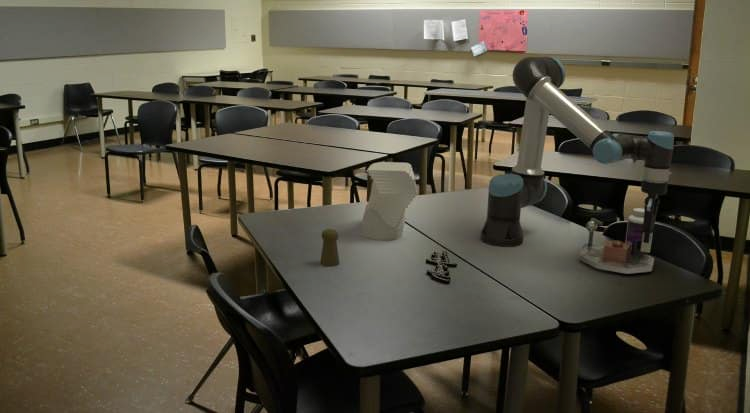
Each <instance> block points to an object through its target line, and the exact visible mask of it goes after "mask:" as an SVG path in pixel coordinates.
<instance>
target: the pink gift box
mask: <svg viewBox="0 0 750 413" xmlns="http://www.w3.org/2000/svg"><path fill="white" fill-rule="evenodd" d="M630 250H631V244H626V243H625V242H623V241H621V240H608V241H607V242H606V243H605V244H604V250H603V258H608V259H613V260H618V261H623V262H626V260H627V259H628V258H629V256H630Z"/></svg>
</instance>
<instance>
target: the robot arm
mask: <svg viewBox="0 0 750 413" xmlns="http://www.w3.org/2000/svg"><path fill="white" fill-rule="evenodd" d="M565 79H566V69H565V67H564V65H563V64H562V62H561V61H560V60H558V59H556V58H555V57H549V56H527V57H523V58H522V59H520V60H519V61H518V62H517V63H515V65H514V68H513V71H512V81H513V84H514V85H515V87H516V89H517V90H518V91H519V92H520V93H522V95H523V97H524V98H525V100H526V101H525V107H524V113H523V122H522V128H521V135H520V141H519V142H520V143H519V148H518V156H517V162H516V165H515V166H513V167H512V168H511V173H504V174H496V175H494V176H492V177H491V178H490V180H489V185H488V187H487V188H488V189H487V190H488V196H487V211H486V212H487V213H486V219H485V222H484V224H483V226H482V229H481V232H480V239H479V240H481V241H482V242H483V243H486V244H488V245H492V246H496V247H497V246H498V247H517V246H519V245H522V244H523V243H524V232H523V230H522V225H521V210H522V209H523V208H526V207H530V206H533V205H536V204H538V203H540V202H541V201H542V200H543V199H544V198H545V196H546V194H547V190H548V183H547V181H546V180H545V171H544V170H543V169H542V163H543V155H544V149H545V144H546V143H545V142H546V136H547V130H548V123H549V118H550V115H551V116H552V117H554V118H555V119H556V120H557V121H558V122H559V123H560V124H562V126H564V127H565V128H566V129H567V130H568V131H570V133H572V134H573V135H574V136H576V138H578V139H579V140H580V141H581V142H582V143H583V144H584V145H586V146H587V147H588V148H589V149H590V150H592V155H593V158H594V159H595V160H596V161H597V162H598V163H599V164H604V165H606V164H607V165H608V164H615V163H617V162H619V161H623V160H628V159H631V160H637V161H638V160H639V161H644V166H643V171H642V179H643V180H642V181H641V187H640V191H641V192H642V193H644V194H647V196H646V198H644V206H643V207H644V208H643V209H644V221H643V229H642V230H641V232H643V236H642V244H641V251H642V252H645V253H651V249H652V248H651V247H652V241H653V233H656V229H655V224H656V219H657V218H656V217H657V212H658V209H659V204H660V203H661V202H660V201H661V198H659V196H664V195H666V194H667V192H668V185H669V183H668V182H667V181H669V176H671V175H672V172H671V171H670V169H671V162H672V158H673V157H672V156H673V152H674V142H675V140H674V139H675V135H674V134H673V133H672V132H671V131H670V132H669V131H663V130H662V131H661V130H651V131H649V132H648V135H647V136H641V135H633V134H625V133H611V132H610V131H608V129H607V128H605V127H604V126H603V125H601V124H600V122H598V121H597V120H596V119H595V118H593V116H591V114H589V113H588V112H586V111H585V110H584V109H583V108H582V107H581V106H580V105H578V104H577V103H576V102H575V101H574V100H572V98H570V97H568V96H567V94H566V93H564V92H563V91H562V90H561V89H560V87H562V85H563V84H564V82H565Z"/></svg>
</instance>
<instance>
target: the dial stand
mask: <svg viewBox="0 0 750 413" xmlns="http://www.w3.org/2000/svg"><path fill="white" fill-rule="evenodd" d="M598 226H600V227H601V226H604V222H603V221H601V220H598V219H596V218H595V217H591V218H590V221H588V222H586V224H585V229H586V230H587V231H588V240H587V241H588V242H587V243H585V244H584V245H583V246H582V249H581V250H583V248H584V247H590V246H597V245H595V244H593V241H594V234H595V233H594V232H595V231H596V230H597V229H598Z"/></svg>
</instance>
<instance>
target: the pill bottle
mask: <svg viewBox="0 0 750 413" xmlns="http://www.w3.org/2000/svg"><path fill="white" fill-rule="evenodd" d="M643 221H644V208H642V207H640V208H639V207H635V208H633V209H632V214H631V215H629V216H628V218H627V226H626V235H625V240H624V241H625V242H624V243H626V244H631V249H632V242H633V240H637V239H642V236H643V232H641V230H642V229H643Z"/></svg>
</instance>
